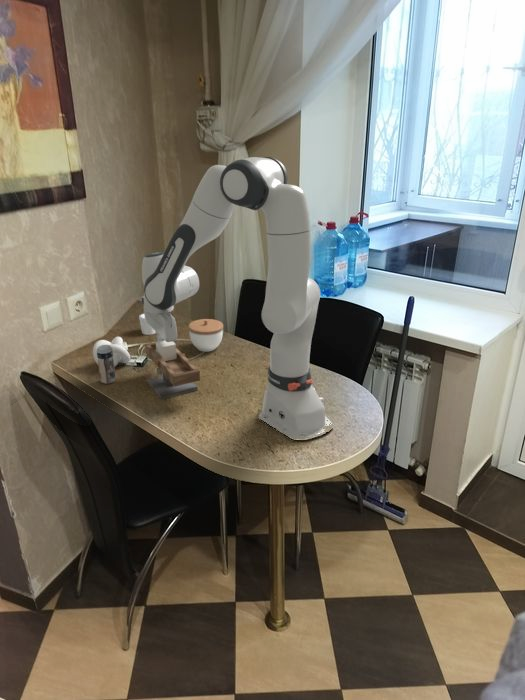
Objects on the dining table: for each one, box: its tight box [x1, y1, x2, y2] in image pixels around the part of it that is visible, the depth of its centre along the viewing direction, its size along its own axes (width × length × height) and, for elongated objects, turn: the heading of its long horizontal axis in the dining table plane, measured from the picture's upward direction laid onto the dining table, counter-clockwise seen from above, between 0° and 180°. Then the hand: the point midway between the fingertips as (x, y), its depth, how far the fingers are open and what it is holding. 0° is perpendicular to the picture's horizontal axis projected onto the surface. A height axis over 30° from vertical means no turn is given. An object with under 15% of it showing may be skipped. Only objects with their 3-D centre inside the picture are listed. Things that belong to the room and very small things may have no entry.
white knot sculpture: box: [92, 336, 131, 368], centre depth 170 cm, size 11×12×9 cm
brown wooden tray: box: [144, 341, 201, 400], centre depth 157 cm, size 25×12×10 cm, turn 31°
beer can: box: [97, 345, 116, 385], centre depth 159 cm, size 5×5×12 cm
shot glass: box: [138, 312, 156, 336], centre depth 197 cm, size 7×7×7 cm
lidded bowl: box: [188, 318, 224, 353], centre depth 184 cm, size 13×13×11 cm
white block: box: [155, 340, 177, 361], centre depth 158 cm, size 5×5×5 cm
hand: (161, 344), depth 161 cm, fingers closed
